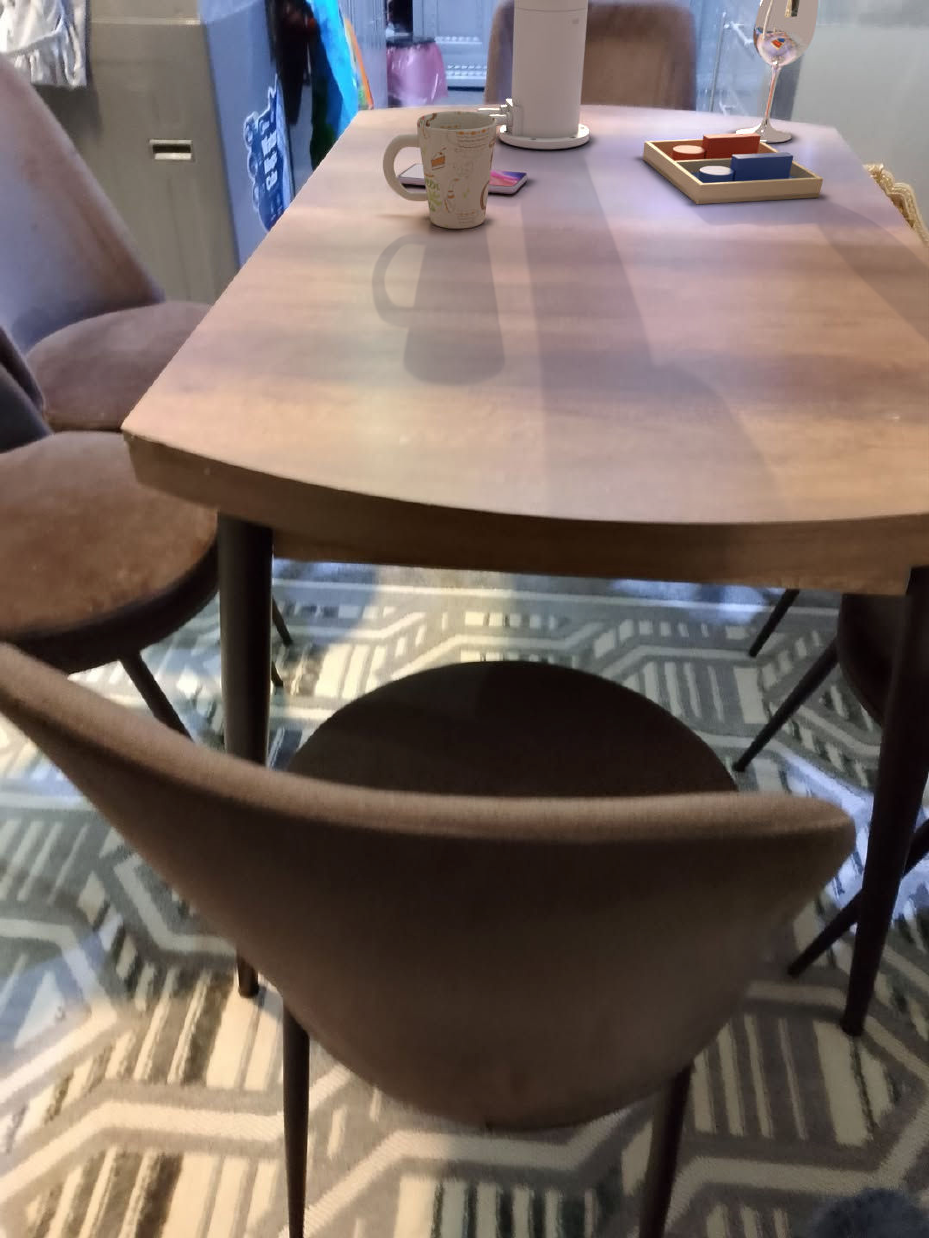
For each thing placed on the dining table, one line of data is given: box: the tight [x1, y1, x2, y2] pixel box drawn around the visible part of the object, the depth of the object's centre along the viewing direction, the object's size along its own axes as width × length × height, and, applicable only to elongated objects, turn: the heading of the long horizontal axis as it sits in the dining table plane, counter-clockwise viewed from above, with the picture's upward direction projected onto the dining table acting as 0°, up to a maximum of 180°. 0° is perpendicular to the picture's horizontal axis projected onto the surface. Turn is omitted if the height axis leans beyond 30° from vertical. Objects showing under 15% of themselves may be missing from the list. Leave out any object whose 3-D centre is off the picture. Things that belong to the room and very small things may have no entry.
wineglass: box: [735, 0, 819, 144], centre depth 122 cm, size 8×8×20 cm
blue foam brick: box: [698, 151, 794, 183], centre depth 109 cm, size 11×4×3 cm, turn 100°
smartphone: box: [396, 163, 529, 195], centre depth 111 cm, size 7×1×15 cm
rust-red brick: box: [672, 132, 761, 161], centre depth 116 cm, size 11×4×3 cm, turn 100°
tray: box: [642, 138, 824, 205], centre depth 113 cm, size 15×20×2 cm
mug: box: [382, 110, 498, 230], centre depth 98 cm, size 8×13×10 cm, turn 78°
